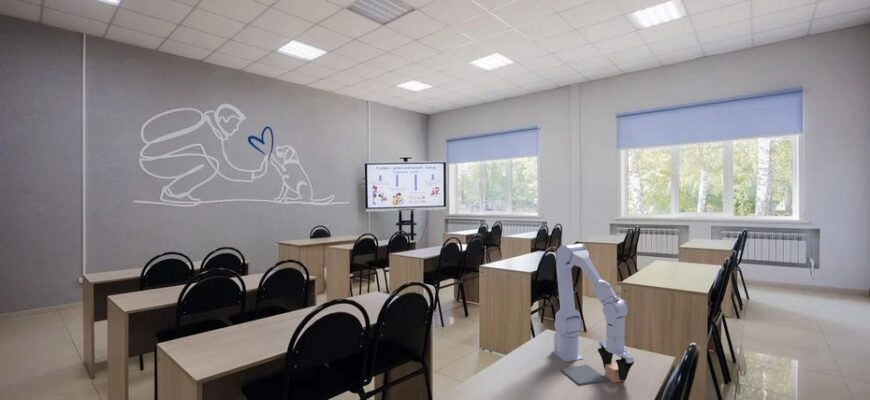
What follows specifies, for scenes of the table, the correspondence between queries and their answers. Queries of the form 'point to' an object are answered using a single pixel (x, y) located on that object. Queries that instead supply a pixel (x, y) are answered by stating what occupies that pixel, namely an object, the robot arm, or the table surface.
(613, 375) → the cube
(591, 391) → the table surface
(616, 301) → the robot arm
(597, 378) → the mat
